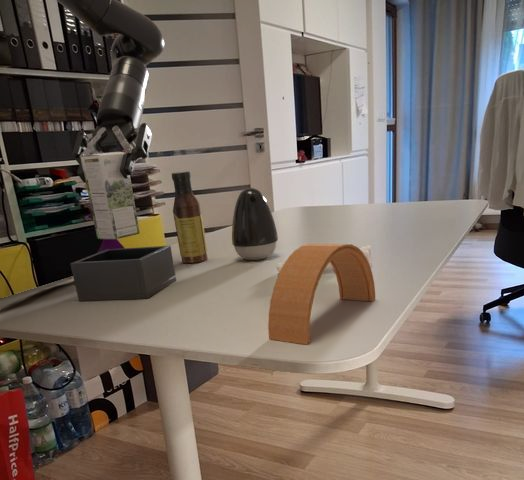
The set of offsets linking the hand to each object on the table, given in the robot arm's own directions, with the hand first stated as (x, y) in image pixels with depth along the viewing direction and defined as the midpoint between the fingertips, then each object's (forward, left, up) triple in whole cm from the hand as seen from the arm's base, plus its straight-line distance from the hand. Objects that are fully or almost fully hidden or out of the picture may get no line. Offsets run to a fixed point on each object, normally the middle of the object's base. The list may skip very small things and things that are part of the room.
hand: (103, 177), depth 91 cm
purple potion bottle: (-12, +18, -21) cm, 30 cm away
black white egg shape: (+19, +26, -21) cm, 39 cm away
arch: (+40, -18, -21) cm, 49 cm away
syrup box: (0, +1, -11) cm, 11 cm away
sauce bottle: (+4, +26, -21) cm, 34 cm away
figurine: (+36, +10, -21) cm, 43 cm away
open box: (0, +1, -21) cm, 21 cm away
